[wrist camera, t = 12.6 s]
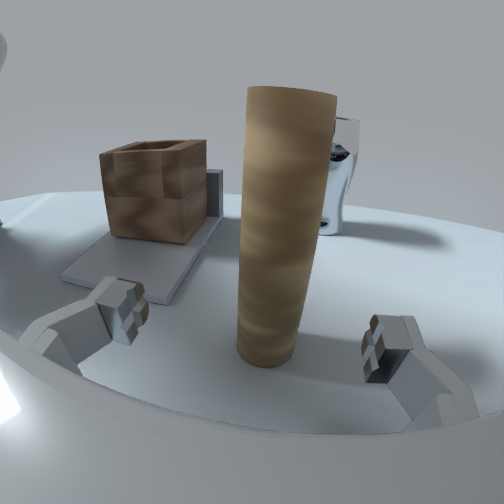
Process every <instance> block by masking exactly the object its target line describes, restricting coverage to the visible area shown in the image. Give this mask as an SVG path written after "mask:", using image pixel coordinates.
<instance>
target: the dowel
mask: <svg viewBox="0 0 504 504" xmlns="http://www.w3.org/2000/svg"><path fill="white" fill-rule="evenodd" d="M336 106H337V96H334V95H331V94H327V93H323V92H317V91H311V90H305V89H297V88H287V87H272V86H254V87H248V88H247V105H246V124H245V143H244V144H245V145H244V163H243V184H242V185H243V186H242V207H241V231H240V257H239V286H238V318H237V350H238V352H239V354H240V356H241V357H242V358H243V359H244V360H245V361H246V362H248V363H250V364H252V365H254V366H258V367H264V368H270V367H275V366H279V365H281V364H283V363H284V362H286V361H287V360H288V359H289V358H290V356H291V354H292V352H293V348H294V344H295V340H296V336H297V332H298V328H299V324H300V319H301V315H302V311H303V307H304V302H305V298H306V293H307V289H308V284H309V279H310V275H311V270H312V265H313V260H314V255H315V250H316V244H317V239H318V234H319V228H320V222H321V217H322V211H323V205H324V199H325V192H326V186H327V179H328V172H329V165H330V158H331V150H332V142H333V134H334V125H335V116H336Z"/></svg>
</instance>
